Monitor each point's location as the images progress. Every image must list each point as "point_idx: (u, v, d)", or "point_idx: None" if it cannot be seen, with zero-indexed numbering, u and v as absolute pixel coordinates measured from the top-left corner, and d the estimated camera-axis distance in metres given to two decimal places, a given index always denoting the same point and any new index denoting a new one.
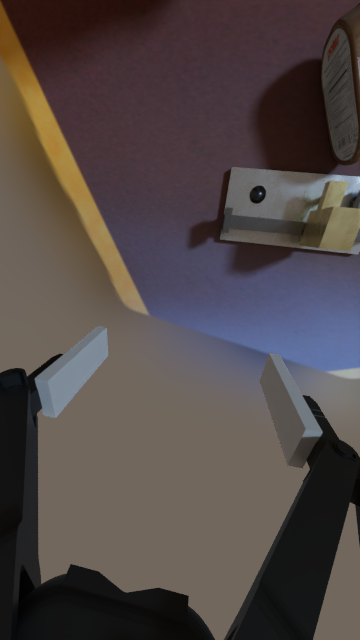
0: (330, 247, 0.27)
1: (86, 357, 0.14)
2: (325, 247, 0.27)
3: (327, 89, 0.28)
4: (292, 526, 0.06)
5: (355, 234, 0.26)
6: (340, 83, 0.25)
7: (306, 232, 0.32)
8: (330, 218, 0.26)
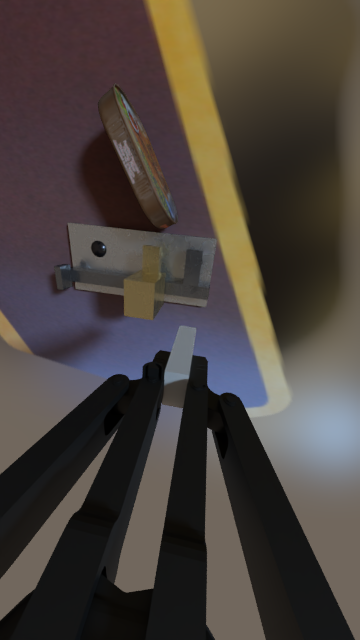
0: (134, 315, 0.27)
1: None
2: (129, 315, 0.27)
3: None
4: (177, 465, 0.07)
5: (152, 305, 0.26)
6: None
7: None
8: (124, 290, 0.26)
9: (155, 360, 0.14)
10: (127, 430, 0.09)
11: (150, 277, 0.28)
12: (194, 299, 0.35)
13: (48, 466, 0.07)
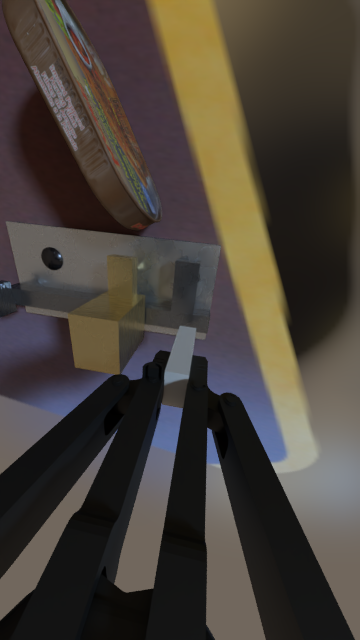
0: (90, 367, 0.17)
1: None
2: (83, 367, 0.17)
3: None
4: (177, 465, 0.07)
5: (116, 354, 0.16)
6: None
7: None
8: (70, 330, 0.16)
9: (155, 360, 0.14)
10: (127, 430, 0.09)
11: (117, 306, 0.18)
12: None
13: (48, 466, 0.07)
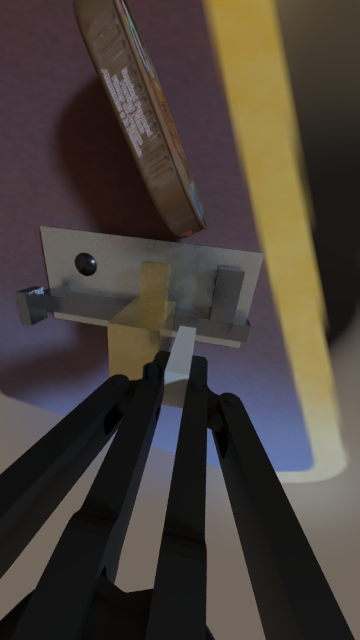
0: None
1: None
2: None
3: None
4: (177, 465, 0.07)
5: None
6: None
7: None
8: (108, 339, 0.15)
9: (155, 360, 0.14)
10: (127, 430, 0.09)
11: (152, 314, 0.17)
12: None
13: (48, 466, 0.07)
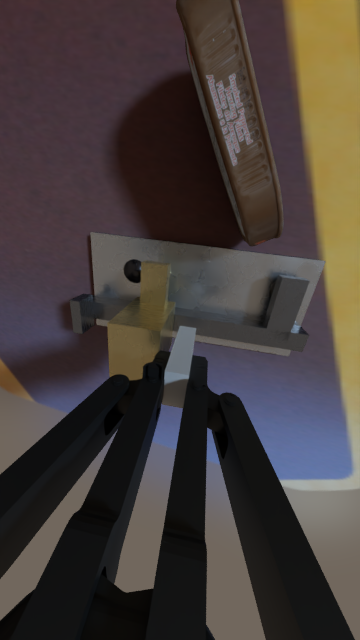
0: None
1: None
2: None
3: (208, 123, 0.17)
4: (177, 465, 0.07)
5: None
6: None
7: None
8: (108, 339, 0.15)
9: (155, 360, 0.14)
10: (127, 430, 0.09)
11: (152, 314, 0.17)
12: None
13: (48, 466, 0.07)
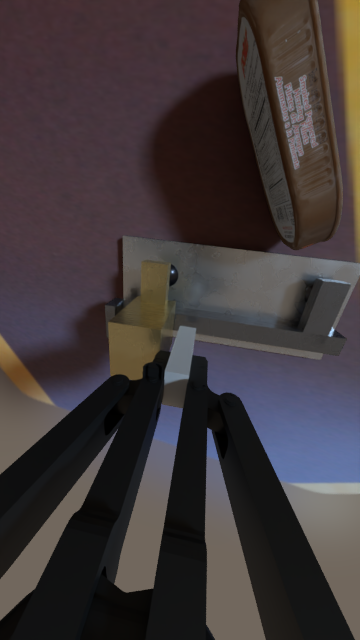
0: None
1: None
2: None
3: (252, 125, 0.16)
4: (177, 465, 0.07)
5: None
6: (262, 120, 0.14)
7: None
8: (109, 338, 0.15)
9: (155, 360, 0.14)
10: (127, 430, 0.09)
11: (153, 313, 0.17)
12: None
13: (48, 466, 0.07)
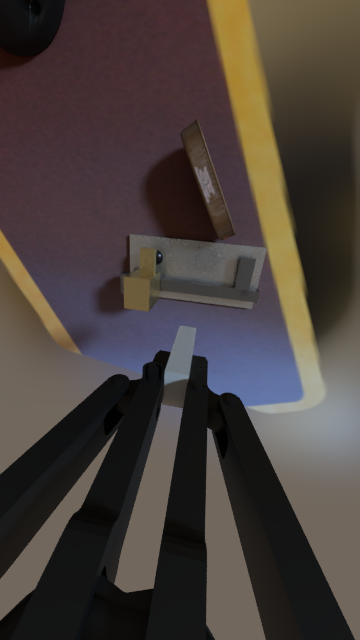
0: (132, 307, 0.32)
1: None
2: (129, 307, 0.32)
3: None
4: (177, 465, 0.07)
5: (148, 298, 0.31)
6: None
7: None
8: (124, 285, 0.30)
9: (155, 360, 0.14)
10: (127, 430, 0.09)
11: (146, 275, 0.32)
12: (241, 302, 0.38)
13: (48, 466, 0.07)
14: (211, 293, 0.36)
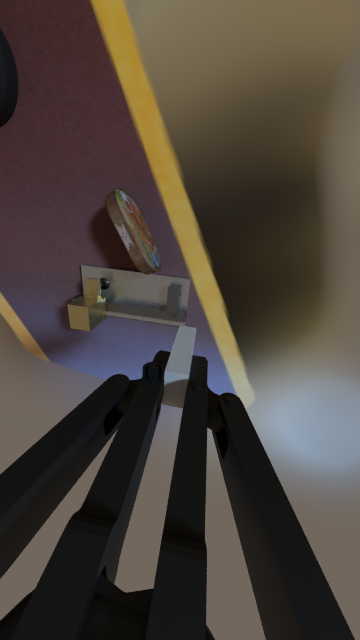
0: (77, 328, 0.39)
1: None
2: (74, 328, 0.39)
3: None
4: (177, 465, 0.07)
5: (88, 321, 0.38)
6: None
7: None
8: (68, 311, 0.38)
9: (155, 360, 0.14)
10: (127, 430, 0.09)
11: (89, 301, 0.40)
12: None
13: (48, 466, 0.07)
14: (148, 314, 0.44)
